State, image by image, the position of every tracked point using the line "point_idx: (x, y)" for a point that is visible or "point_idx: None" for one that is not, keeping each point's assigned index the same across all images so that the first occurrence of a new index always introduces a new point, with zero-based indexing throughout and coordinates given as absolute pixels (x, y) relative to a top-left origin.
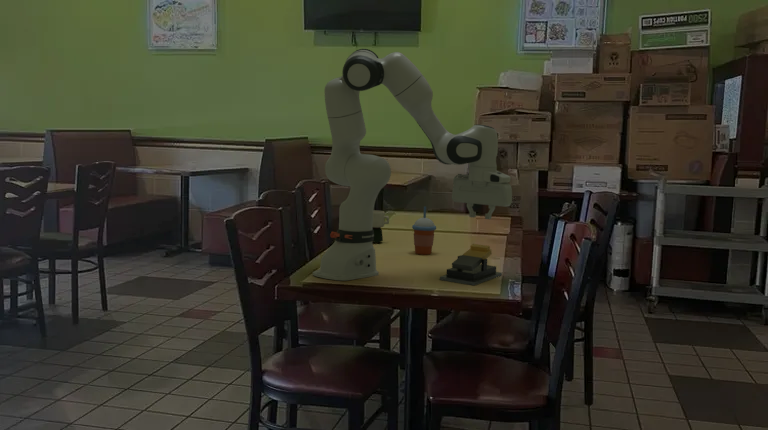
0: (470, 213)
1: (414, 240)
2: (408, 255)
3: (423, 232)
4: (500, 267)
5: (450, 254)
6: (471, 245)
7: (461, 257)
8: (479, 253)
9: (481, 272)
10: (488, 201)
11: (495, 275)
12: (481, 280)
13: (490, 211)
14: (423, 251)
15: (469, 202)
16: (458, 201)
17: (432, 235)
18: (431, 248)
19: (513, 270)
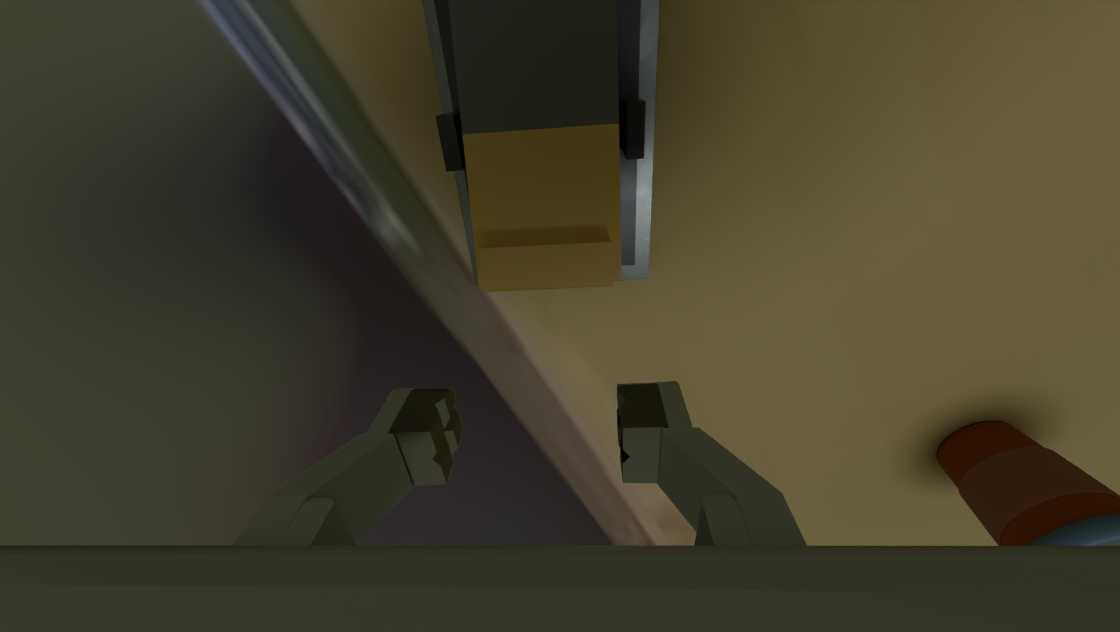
0: (669, 410)
1: (1083, 471)
2: (1041, 374)
3: (1076, 511)
4: (577, 412)
5: (851, 489)
6: (608, 252)
7: (600, 76)
8: (516, 197)
9: (448, 75)
10: (203, 619)
11: (463, 217)
12: (429, 29)
13: (325, 460)
14: (980, 435)
15: (734, 554)
16: (1057, 552)
17: (1002, 523)
18: (952, 472)
19: (510, 398)
